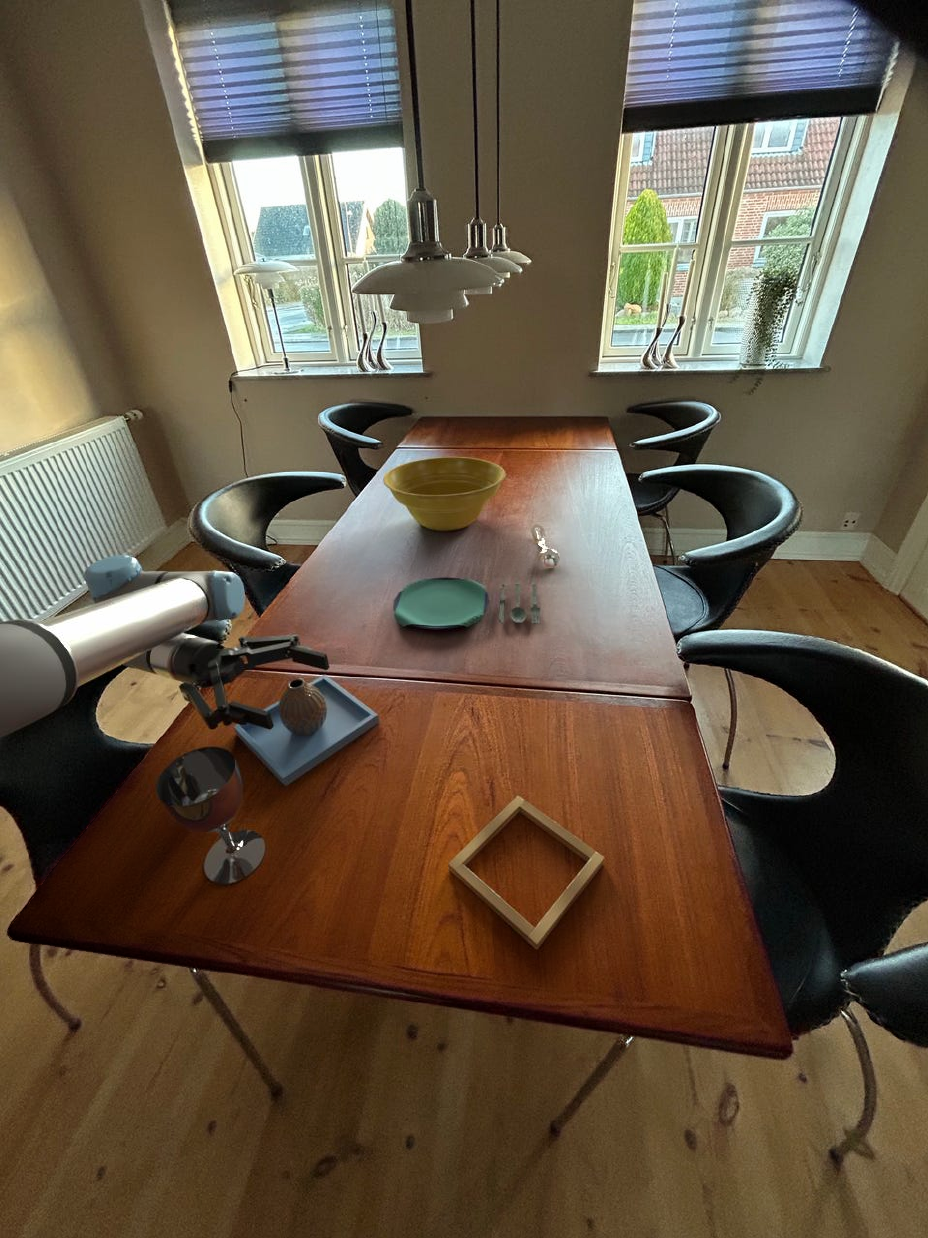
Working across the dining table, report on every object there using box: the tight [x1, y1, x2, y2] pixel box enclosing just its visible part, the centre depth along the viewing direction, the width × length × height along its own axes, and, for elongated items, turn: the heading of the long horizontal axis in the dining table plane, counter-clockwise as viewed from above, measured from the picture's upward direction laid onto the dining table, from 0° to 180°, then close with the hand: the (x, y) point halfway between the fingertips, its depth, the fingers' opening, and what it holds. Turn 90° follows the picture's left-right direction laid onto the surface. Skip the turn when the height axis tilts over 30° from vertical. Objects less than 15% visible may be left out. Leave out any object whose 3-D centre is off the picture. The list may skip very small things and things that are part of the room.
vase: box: [279, 677, 327, 735], centre depth 80 cm, size 7×7×9 cm
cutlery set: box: [393, 576, 541, 631], centre depth 109 cm, size 20×30×2 cm, turn 86°
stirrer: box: [530, 524, 561, 568], centre depth 130 cm, size 20×4×5 cm
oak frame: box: [447, 795, 605, 950], centre depth 62 cm, size 13×13×1 cm
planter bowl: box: [382, 456, 506, 532], centre depth 143 cm, size 32×32×13 cm
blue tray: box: [232, 674, 380, 787], centre depth 82 cm, size 17×15×2 cm
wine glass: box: [155, 746, 266, 885], centre depth 61 cm, size 8×8×15 cm
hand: (300, 689), depth 78 cm, fingers open, 13 cm apart
